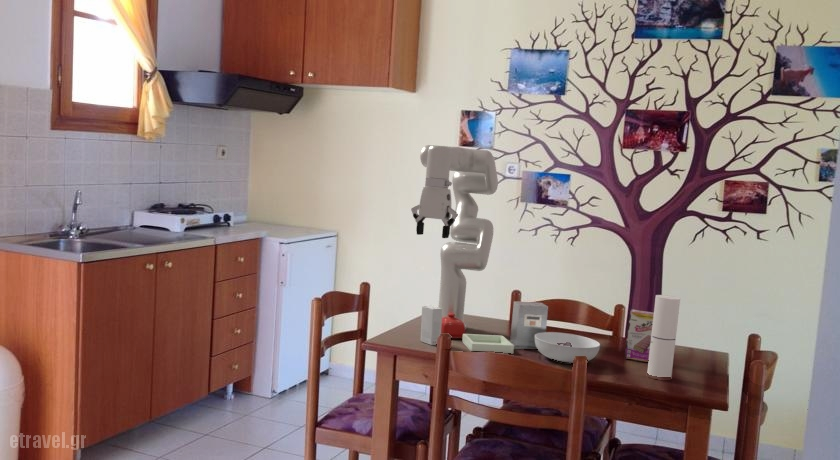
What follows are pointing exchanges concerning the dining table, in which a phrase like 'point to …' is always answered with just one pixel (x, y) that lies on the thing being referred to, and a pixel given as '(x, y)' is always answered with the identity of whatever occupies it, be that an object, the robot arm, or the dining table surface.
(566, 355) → the serving bowl
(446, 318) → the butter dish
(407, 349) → the dining table surface
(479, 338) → the tray
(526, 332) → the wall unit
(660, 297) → the cylindrical container
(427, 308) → the skincare box
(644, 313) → the candy bar box
